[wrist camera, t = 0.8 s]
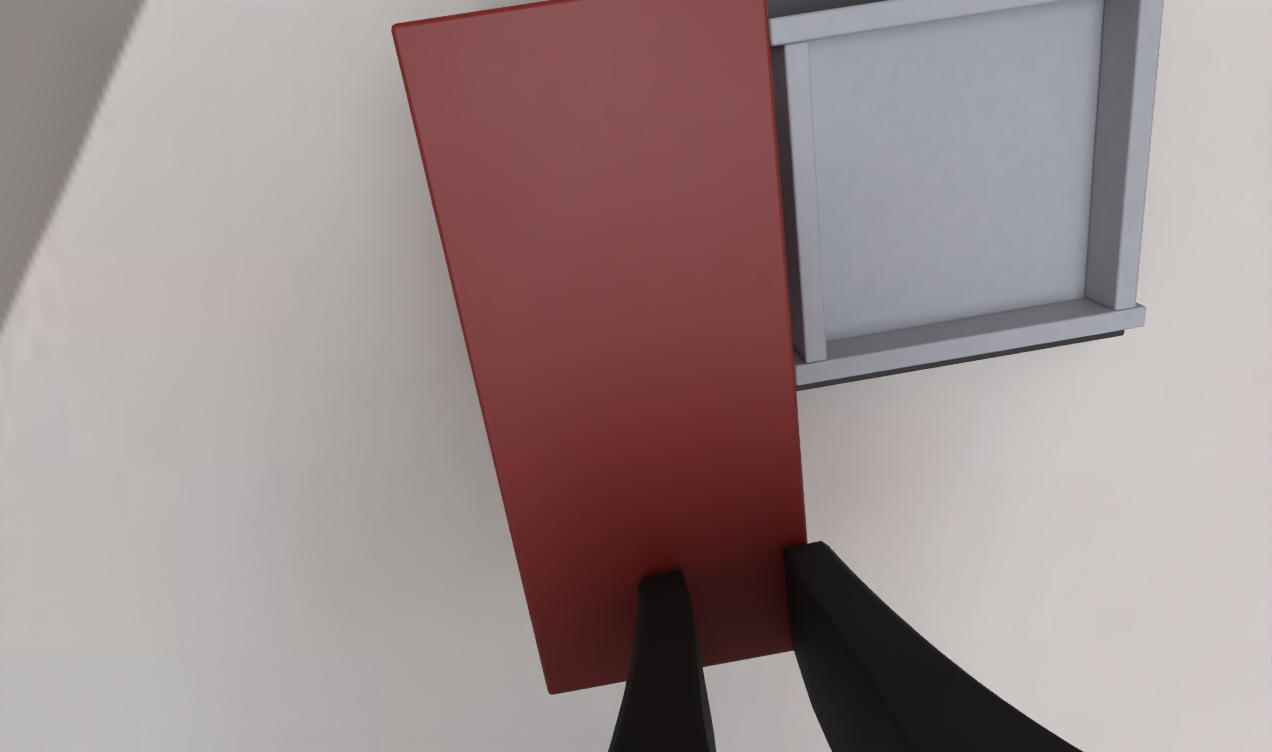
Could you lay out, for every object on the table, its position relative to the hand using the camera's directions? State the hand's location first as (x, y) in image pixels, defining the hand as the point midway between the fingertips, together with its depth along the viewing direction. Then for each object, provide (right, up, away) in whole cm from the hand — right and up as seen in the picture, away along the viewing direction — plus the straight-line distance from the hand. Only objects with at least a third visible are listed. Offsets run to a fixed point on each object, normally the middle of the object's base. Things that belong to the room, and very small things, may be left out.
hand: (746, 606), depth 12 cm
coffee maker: (+3, +9, +10) cm, 14 cm away
